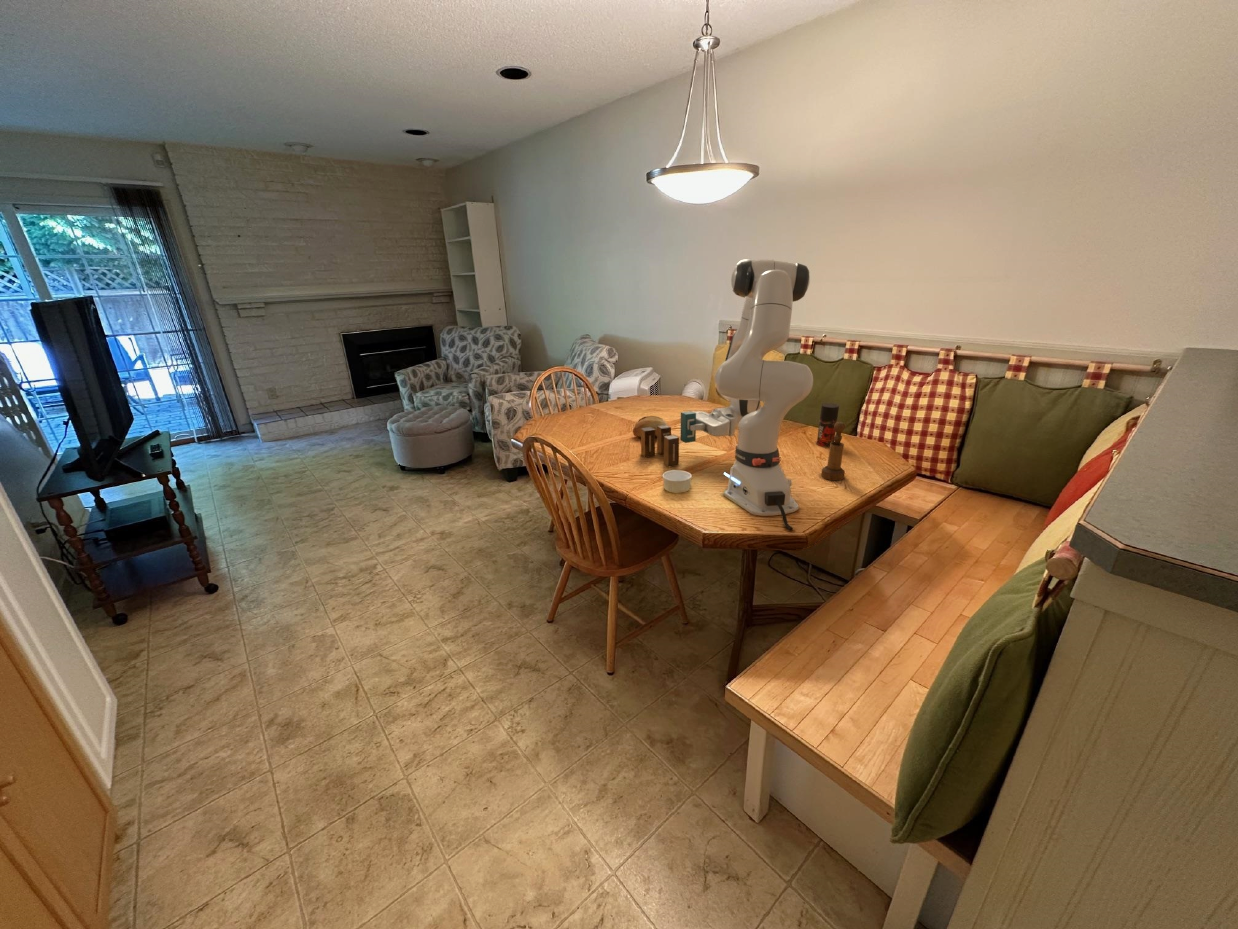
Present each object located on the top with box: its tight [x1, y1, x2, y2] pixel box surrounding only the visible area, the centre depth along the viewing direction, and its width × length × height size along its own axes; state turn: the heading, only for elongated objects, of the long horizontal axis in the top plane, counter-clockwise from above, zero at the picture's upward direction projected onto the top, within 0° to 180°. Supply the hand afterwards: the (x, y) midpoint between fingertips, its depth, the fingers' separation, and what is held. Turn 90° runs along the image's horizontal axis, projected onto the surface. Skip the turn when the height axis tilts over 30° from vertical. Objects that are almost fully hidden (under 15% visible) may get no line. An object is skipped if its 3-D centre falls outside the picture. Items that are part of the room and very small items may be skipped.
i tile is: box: [663, 434, 680, 468], centre depth 164 cm, size 4×4×10 cm
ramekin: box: [662, 469, 693, 494], centre depth 146 cm, size 9×9×4 cm
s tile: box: [679, 410, 697, 444], centre depth 163 cm, size 4×4×10 cm
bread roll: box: [632, 415, 668, 438], centre depth 194 cm, size 10×15×8 cm, turn 97°
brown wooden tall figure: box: [820, 421, 846, 481], centre depth 148 cm, size 7×6×18 cm
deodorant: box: [816, 402, 840, 448], centre depth 177 cm, size 6×6×15 cm
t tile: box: [656, 424, 672, 455], centre depth 175 cm, size 4×4×10 cm
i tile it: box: [640, 427, 656, 458], centre depth 173 cm, size 4×4×10 cm
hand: (686, 425), depth 163 cm, fingers closed on s tile, 4 cm apart
